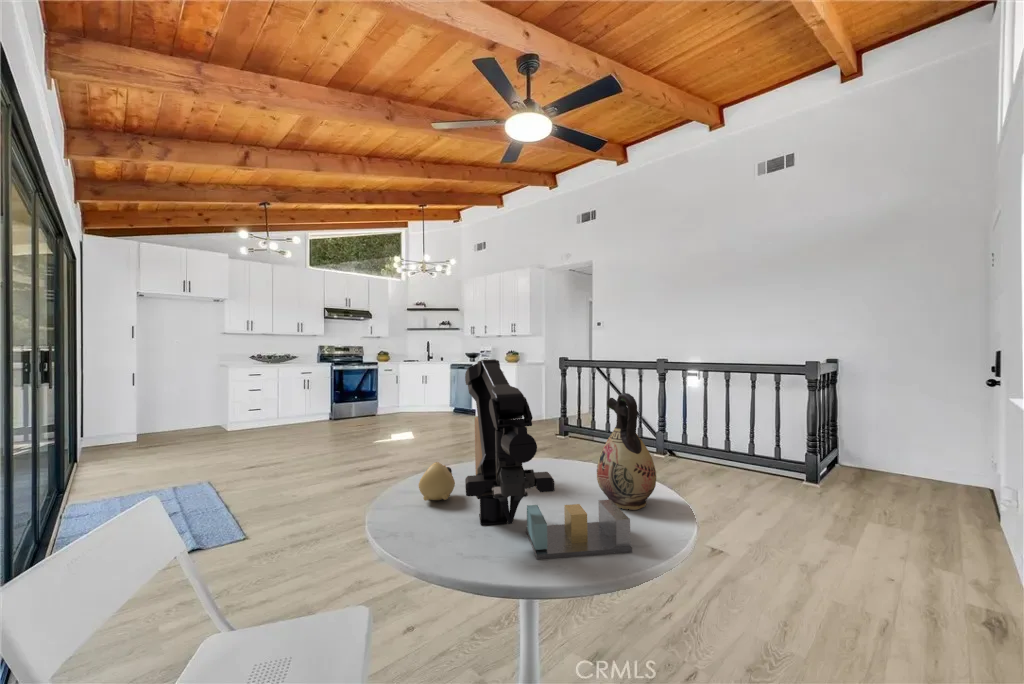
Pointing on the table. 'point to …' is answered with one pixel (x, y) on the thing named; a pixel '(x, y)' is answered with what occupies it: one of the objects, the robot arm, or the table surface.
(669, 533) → the table surface
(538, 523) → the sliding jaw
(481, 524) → the robot arm
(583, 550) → the vise base
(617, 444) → the ceramic jug
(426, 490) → the toy pig
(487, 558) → the table surface
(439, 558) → the table surface
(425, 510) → the table surface
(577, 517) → the brass block
